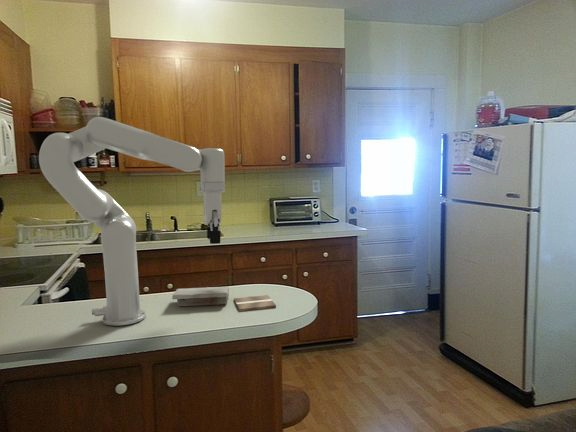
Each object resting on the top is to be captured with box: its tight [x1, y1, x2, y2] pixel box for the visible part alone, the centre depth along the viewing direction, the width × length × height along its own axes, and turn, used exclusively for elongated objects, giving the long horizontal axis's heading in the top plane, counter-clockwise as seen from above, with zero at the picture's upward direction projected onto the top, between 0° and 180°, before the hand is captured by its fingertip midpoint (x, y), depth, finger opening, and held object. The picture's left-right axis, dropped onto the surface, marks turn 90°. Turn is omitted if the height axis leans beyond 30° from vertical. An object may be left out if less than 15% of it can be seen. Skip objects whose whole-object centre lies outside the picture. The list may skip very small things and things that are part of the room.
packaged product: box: [171, 286, 230, 307], centre depth 150 cm, size 18×5×10 cm
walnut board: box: [233, 294, 277, 312], centre depth 149 cm, size 12×12×1 cm
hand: (213, 240), depth 142 cm, fingers open, 9 cm apart
